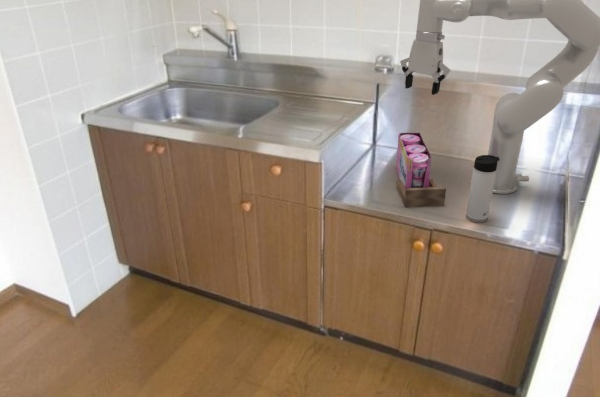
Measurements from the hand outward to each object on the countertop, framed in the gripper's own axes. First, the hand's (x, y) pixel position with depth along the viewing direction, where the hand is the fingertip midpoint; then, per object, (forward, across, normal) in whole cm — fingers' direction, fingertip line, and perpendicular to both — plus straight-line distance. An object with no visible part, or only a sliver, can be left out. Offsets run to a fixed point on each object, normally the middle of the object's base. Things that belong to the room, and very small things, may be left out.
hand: (421, 90), depth 161 cm
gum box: (+31, -2, +3) cm, 32 cm away
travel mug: (+30, -31, +12) cm, 45 cm away
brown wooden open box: (+31, -10, +11) cm, 34 cm away
